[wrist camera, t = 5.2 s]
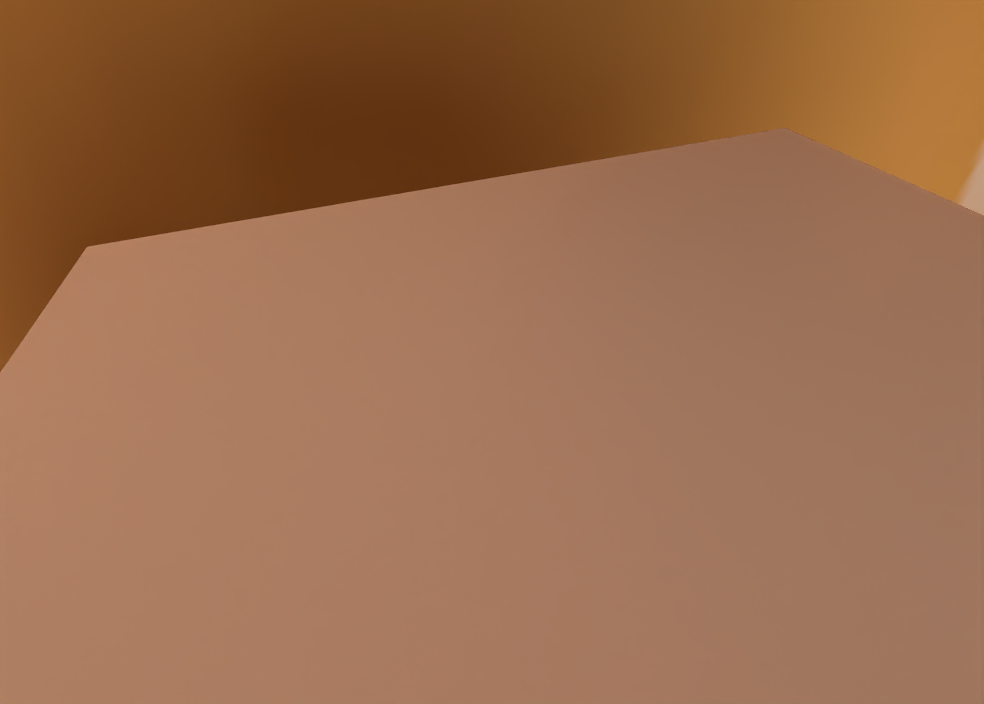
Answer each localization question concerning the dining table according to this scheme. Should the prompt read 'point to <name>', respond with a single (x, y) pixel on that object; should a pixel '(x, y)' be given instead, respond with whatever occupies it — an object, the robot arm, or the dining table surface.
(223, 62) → the dining table surface
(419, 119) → the dining table surface
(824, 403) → the pale pink cube
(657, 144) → the dining table surface
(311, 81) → the dining table surface
